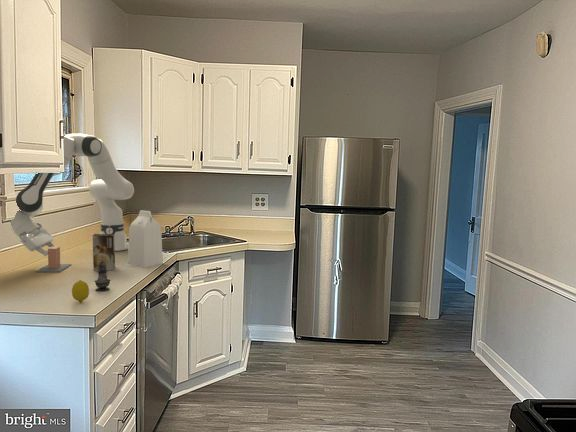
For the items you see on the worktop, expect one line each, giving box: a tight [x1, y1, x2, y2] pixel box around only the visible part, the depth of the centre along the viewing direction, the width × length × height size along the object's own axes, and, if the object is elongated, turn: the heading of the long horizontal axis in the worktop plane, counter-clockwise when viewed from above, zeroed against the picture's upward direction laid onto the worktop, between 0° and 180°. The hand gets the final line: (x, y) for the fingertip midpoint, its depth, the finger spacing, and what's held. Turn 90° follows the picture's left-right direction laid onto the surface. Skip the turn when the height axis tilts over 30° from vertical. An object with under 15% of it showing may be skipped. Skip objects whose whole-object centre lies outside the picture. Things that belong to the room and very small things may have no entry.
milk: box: [127, 209, 164, 268], centre depth 224 cm, size 12×12×26 cm
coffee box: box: [92, 233, 116, 272], centre depth 211 cm, size 9×6×16 cm
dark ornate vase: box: [94, 260, 112, 293], centre depth 178 cm, size 6×6×12 cm
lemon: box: [71, 279, 90, 303], centre depth 162 cm, size 6×6×8 cm
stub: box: [47, 246, 61, 268], centre depth 209 cm, size 4×4×9 cm
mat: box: [35, 263, 72, 273], centre depth 209 cm, size 14×10×1 cm
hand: (51, 252), depth 208 cm, fingers open, 8 cm apart
